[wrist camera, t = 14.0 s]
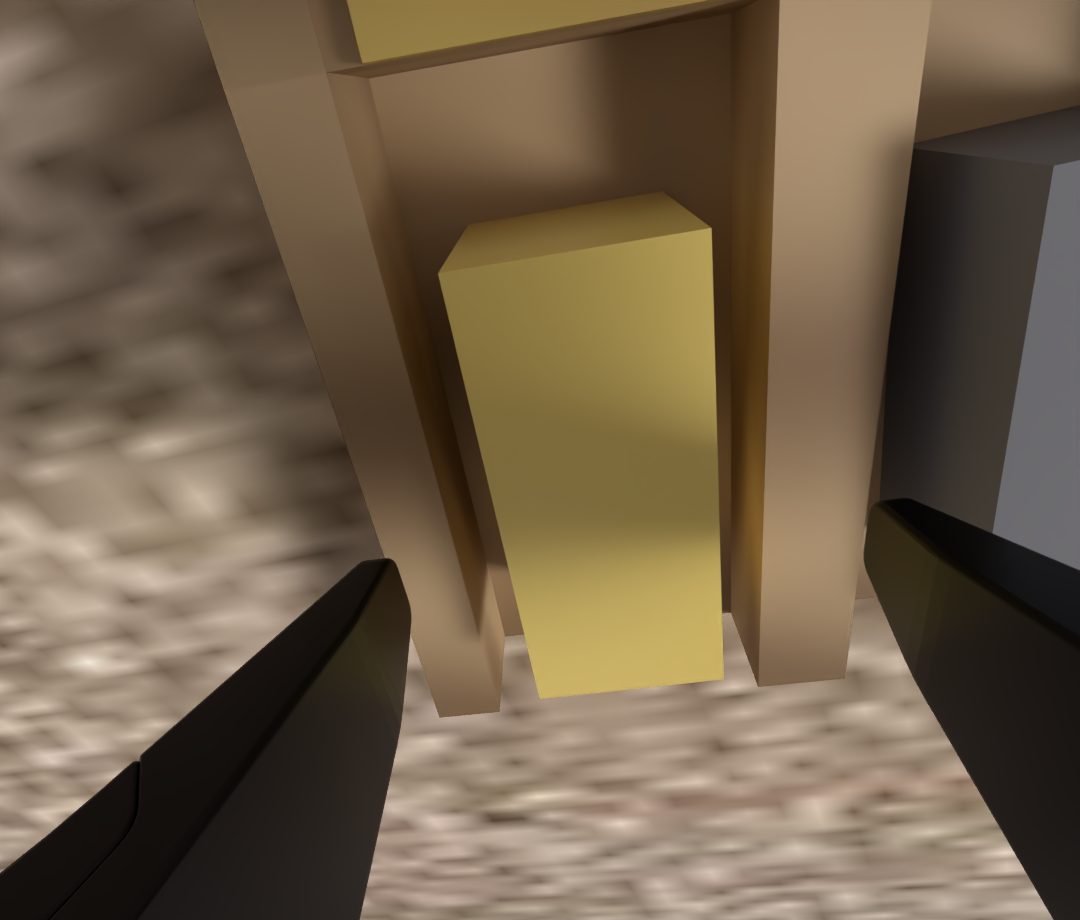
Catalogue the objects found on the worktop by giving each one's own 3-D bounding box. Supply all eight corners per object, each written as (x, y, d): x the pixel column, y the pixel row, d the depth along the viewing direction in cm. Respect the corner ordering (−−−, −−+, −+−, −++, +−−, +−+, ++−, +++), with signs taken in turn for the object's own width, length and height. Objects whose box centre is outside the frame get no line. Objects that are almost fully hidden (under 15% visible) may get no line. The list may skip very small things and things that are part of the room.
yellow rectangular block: (685, 554, 13) (723, 679, 10) (540, 572, 13) (540, 698, 10) (662, 191, 9) (711, 227, 7) (468, 225, 10) (437, 273, 7)
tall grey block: (1038, 502, 12) (1183, 620, 9) (877, 528, 13) (972, 650, 10) (1120, 95, 9) (1385, 91, 6) (899, 146, 9) (1054, 165, 6)
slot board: (1075, 542, 14) (1213, 656, 11) (457, 610, 15) (437, 730, 12) (1327, -202, 8) (1759, -369, 5) (282, 0, 9) (164, -47, 6)
